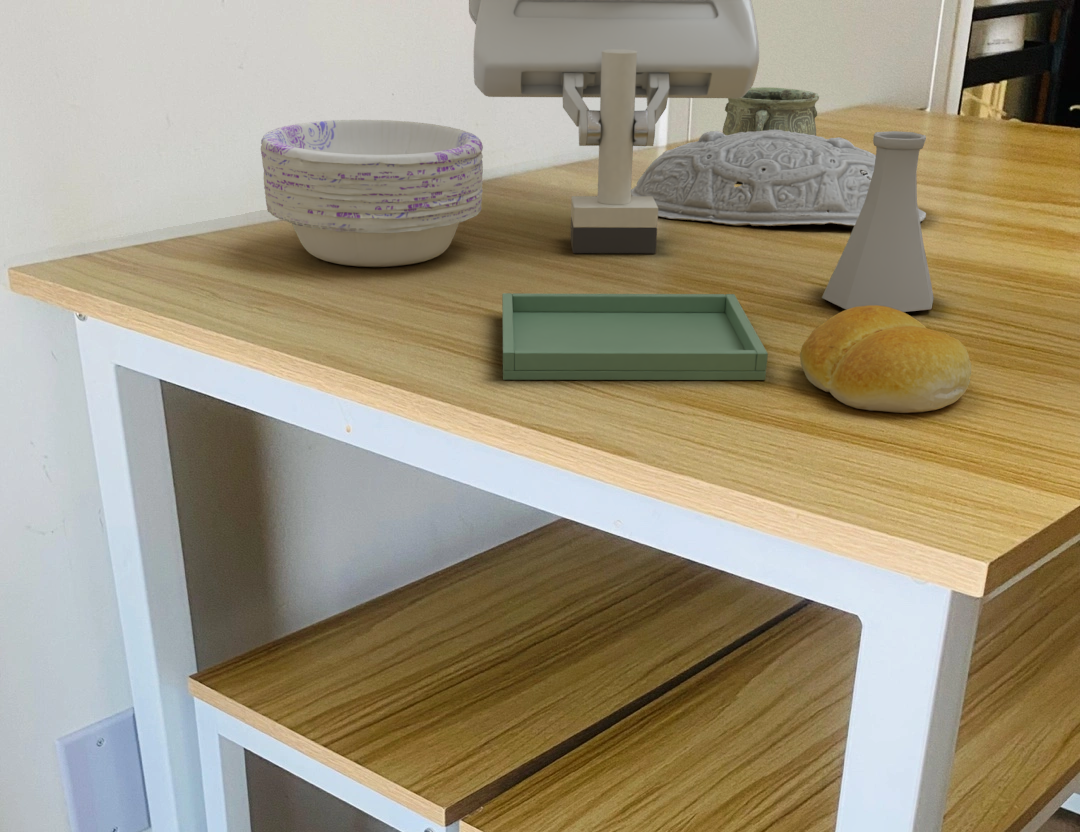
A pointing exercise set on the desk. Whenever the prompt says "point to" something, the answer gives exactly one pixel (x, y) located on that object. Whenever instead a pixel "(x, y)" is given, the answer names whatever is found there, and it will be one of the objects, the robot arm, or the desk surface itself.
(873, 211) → the flask
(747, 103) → the vessel
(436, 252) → the paper bowls
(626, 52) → the brush
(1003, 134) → the desk surface
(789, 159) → the grey carved stone ornament
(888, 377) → the bread roll
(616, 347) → the tray
